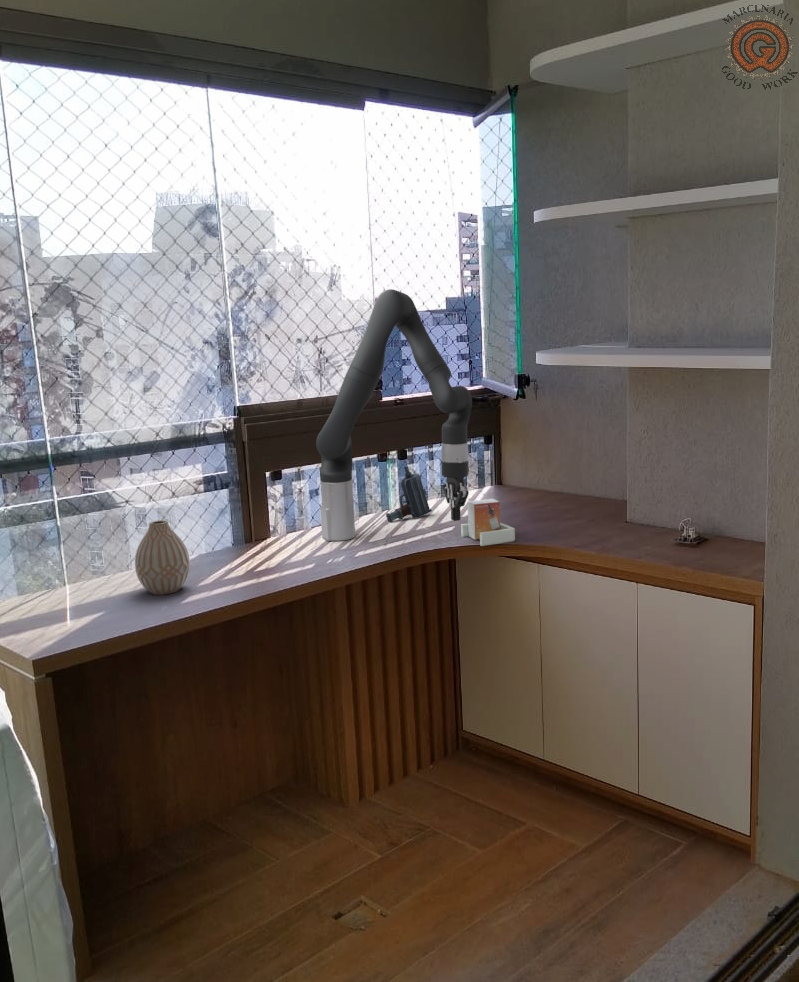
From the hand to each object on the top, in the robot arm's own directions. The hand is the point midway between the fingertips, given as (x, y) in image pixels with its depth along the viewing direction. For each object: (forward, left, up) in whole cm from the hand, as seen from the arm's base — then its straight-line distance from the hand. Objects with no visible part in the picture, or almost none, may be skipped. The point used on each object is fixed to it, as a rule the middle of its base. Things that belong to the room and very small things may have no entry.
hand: (455, 520), depth 266 cm
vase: (-81, -4, -7) cm, 82 cm away
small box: (+10, +2, -7) cm, 12 cm away
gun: (+1, +37, -7) cm, 38 cm away
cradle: (+10, 0, -7) cm, 12 cm away
